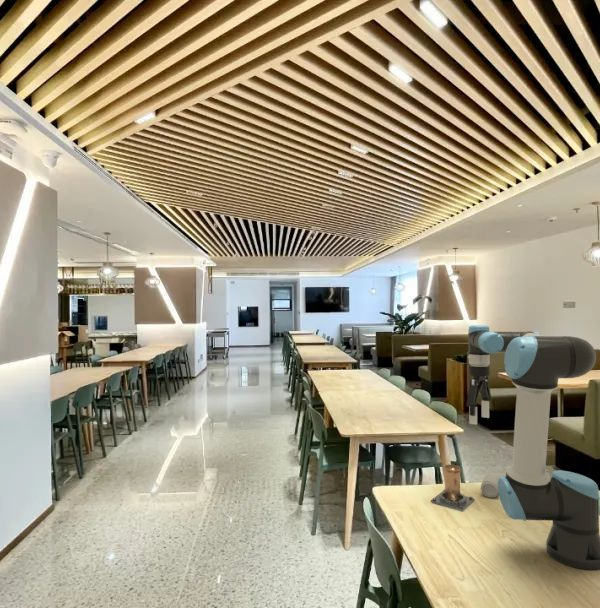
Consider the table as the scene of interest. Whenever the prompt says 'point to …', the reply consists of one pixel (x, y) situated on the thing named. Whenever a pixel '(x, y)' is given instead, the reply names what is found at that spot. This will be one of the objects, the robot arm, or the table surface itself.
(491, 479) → the beverage can
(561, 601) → the table surface
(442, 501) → the flange
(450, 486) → the copper cylinder
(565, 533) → the robot arm
